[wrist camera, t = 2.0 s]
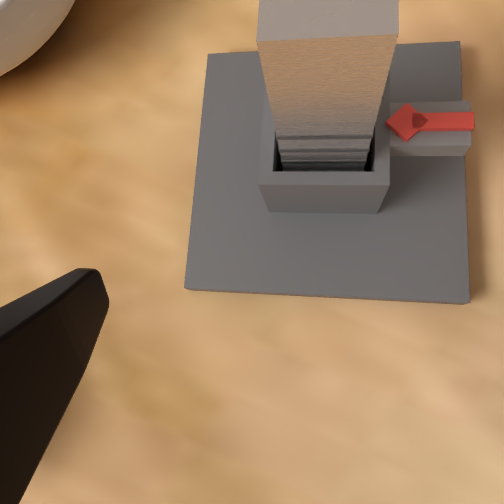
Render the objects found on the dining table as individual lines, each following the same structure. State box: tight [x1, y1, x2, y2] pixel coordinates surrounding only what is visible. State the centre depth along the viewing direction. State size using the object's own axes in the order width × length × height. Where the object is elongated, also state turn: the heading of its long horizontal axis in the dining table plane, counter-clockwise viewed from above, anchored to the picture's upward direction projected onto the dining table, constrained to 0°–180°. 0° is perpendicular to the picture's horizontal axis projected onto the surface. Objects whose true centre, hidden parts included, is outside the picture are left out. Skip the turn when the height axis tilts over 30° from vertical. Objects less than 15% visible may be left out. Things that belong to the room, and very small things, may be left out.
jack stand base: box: [184, 41, 475, 305], centre depth 20 cm, size 14×14×5 cm
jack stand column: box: [256, 0, 399, 172], centre depth 16 cm, size 4×4×11 cm
